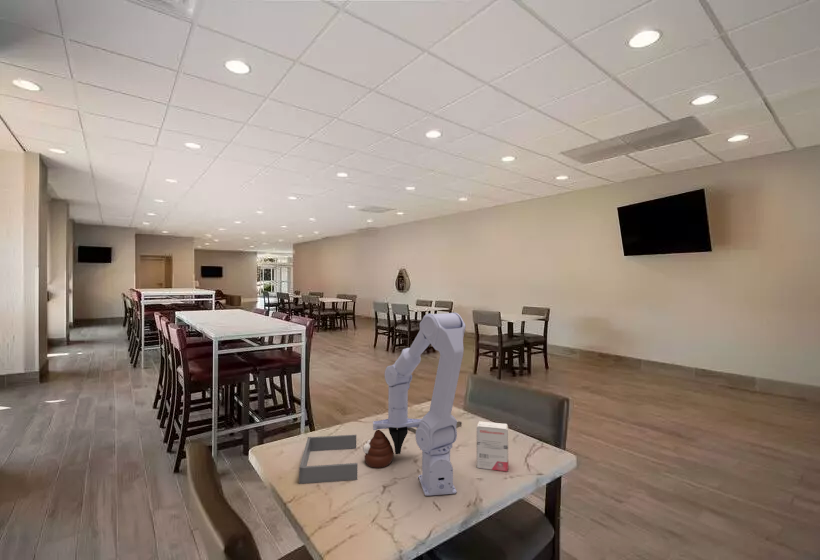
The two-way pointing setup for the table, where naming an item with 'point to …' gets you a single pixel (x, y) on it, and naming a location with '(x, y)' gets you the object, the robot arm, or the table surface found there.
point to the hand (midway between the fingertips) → (397, 452)
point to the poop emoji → (378, 451)
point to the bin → (327, 471)
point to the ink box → (492, 446)
